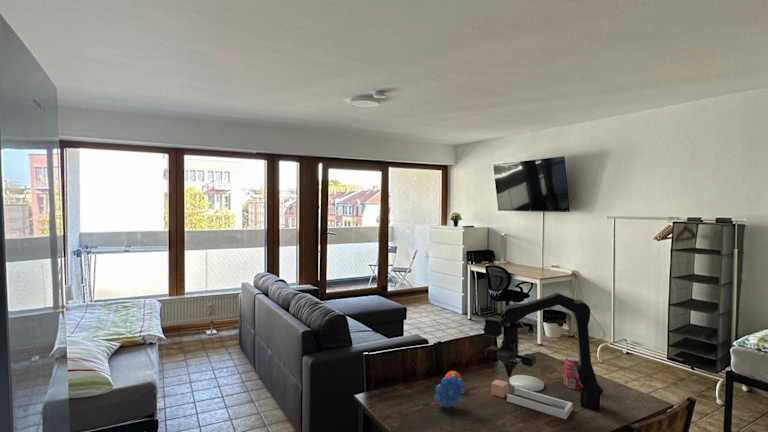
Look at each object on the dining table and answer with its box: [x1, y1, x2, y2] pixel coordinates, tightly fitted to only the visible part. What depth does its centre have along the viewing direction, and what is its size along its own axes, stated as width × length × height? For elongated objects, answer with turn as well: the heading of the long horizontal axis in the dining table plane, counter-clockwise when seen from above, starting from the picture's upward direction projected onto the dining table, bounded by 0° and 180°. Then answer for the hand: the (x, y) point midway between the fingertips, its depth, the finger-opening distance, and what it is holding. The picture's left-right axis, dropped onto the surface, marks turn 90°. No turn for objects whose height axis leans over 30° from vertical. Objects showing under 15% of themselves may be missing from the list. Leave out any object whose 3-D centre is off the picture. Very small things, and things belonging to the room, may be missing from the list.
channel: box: [506, 387, 573, 420], centre depth 157 cm, size 22×9×2 cm, turn 52°
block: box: [490, 379, 509, 398], centre depth 167 cm, size 5×5×4 cm
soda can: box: [563, 355, 583, 390], centre depth 174 cm, size 7×7×12 cm
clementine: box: [444, 370, 462, 379], centre depth 171 cm, size 8×7×7 cm
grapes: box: [434, 375, 466, 408], centre depth 156 cm, size 12×7×12 cm, turn 96°
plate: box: [508, 374, 545, 392], centre depth 176 cm, size 14×14×1 cm
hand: (509, 377), depth 164 cm, fingers closed
